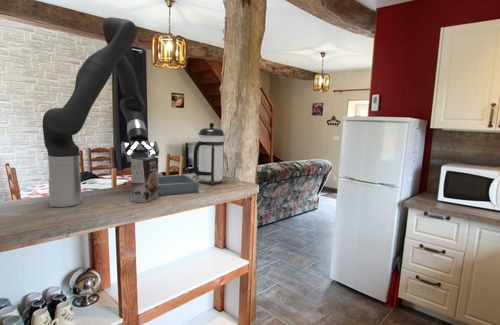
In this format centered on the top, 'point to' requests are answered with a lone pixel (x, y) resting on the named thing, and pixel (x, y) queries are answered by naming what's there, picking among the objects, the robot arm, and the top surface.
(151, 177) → the coffee box
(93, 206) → the top surface
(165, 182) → the tray
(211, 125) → the coffee press
